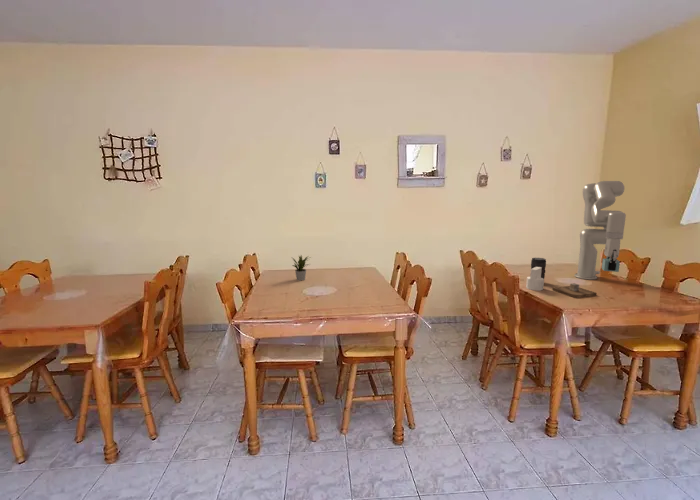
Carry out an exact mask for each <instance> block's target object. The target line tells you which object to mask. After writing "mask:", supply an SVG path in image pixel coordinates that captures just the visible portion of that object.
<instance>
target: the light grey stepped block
mask: <svg viewBox="0 0 700 500" xmlns="http://www.w3.org/2000/svg"><path fill="white" fill-rule="evenodd" d="M541 270H542V267H535V268H532V269H531V268H530V273H531V274H530V273H529V274H530V275H529V276H527V277H526V285H525V288H526V289H527V290H531V291H543V290H544V286H545V285H544V283H545V278H544V279H543V278H541Z"/></svg>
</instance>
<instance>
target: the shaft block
mask: <svg viewBox="0 0 700 500" xmlns="http://www.w3.org/2000/svg"><path fill="white" fill-rule="evenodd" d="M552 291H553V292H556V293H559V294H563V295H565V296H568V297H571V298H573V299H579V298H585V297H586V298H587V297H595V296H597V292H595V291H592V290H589V289H585V288H583V287H580V284H579V283H575V282H574V283H573V282H572V283H570V285H566V286H558V287H557V286H555V287H552Z"/></svg>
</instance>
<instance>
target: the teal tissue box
mask: <svg viewBox="0 0 700 500" xmlns="http://www.w3.org/2000/svg"><path fill="white" fill-rule="evenodd" d="M611 260H612V258H611ZM609 263H610V258H609V259H606V258H602V264H601V269H602V270H603V271H604V272H613V273H614V272H615V273H619V272H620V264H621V261H620V260H618V259H617V260H616V270H615V271H613V270H608V265H609Z"/></svg>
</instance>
